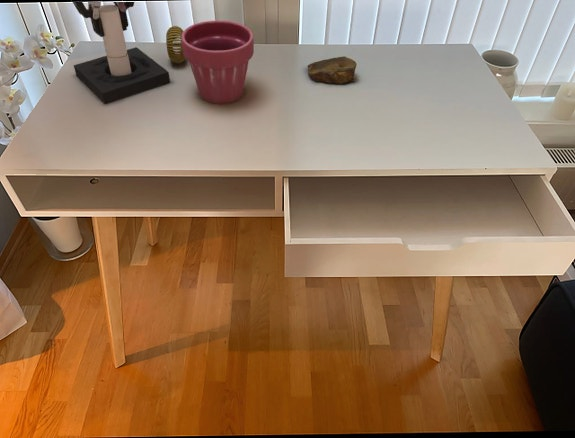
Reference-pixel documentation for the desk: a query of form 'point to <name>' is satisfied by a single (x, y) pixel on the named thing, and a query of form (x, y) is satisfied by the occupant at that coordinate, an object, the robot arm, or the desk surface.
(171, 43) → the sculpture
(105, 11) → the tube
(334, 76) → the decorative stone
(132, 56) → the base pad
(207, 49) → the flower pot
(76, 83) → the desk surface
